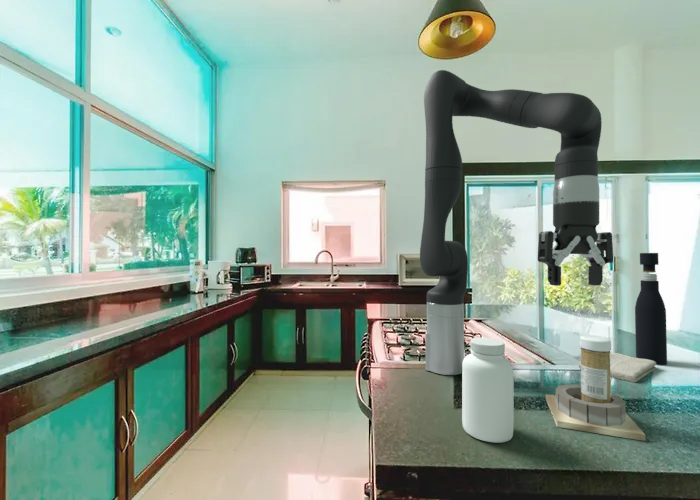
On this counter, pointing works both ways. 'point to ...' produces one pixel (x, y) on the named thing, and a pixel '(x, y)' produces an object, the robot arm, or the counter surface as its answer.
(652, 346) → the black bottle
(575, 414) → the collar
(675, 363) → the counter surface
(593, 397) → the sprinkles bottle
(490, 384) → the pill bottle
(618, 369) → the washcloth
